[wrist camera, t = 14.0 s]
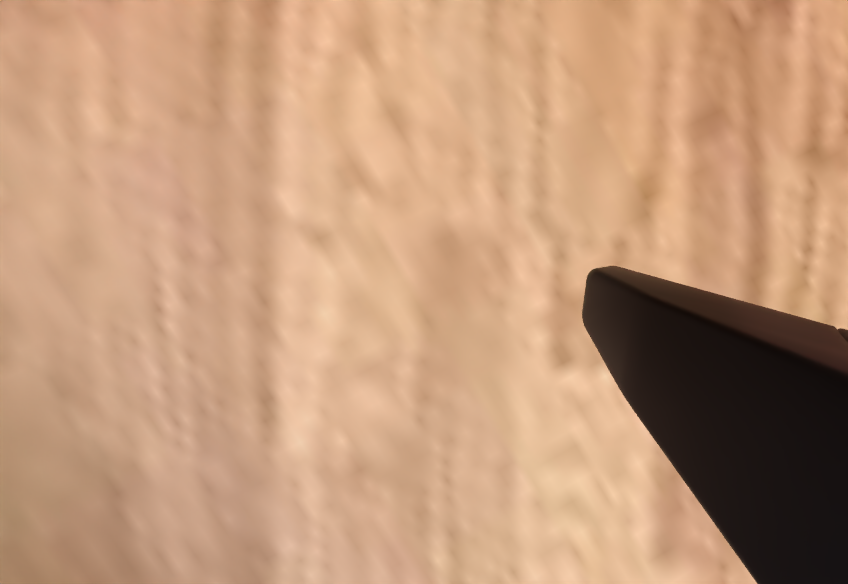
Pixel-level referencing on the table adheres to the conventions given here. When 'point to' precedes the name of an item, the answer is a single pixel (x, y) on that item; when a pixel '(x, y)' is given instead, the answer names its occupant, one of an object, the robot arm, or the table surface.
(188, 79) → the table surface
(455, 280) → the table surface
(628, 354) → the robot arm
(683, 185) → the table surface
